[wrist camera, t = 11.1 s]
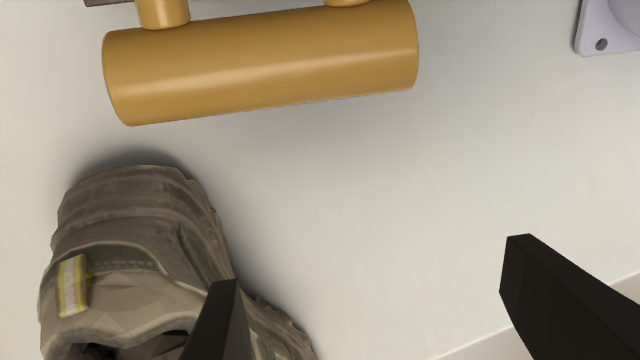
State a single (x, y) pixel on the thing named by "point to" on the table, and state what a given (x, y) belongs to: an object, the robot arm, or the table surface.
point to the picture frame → (256, 58)
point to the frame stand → (104, 2)
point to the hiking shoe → (142, 272)
